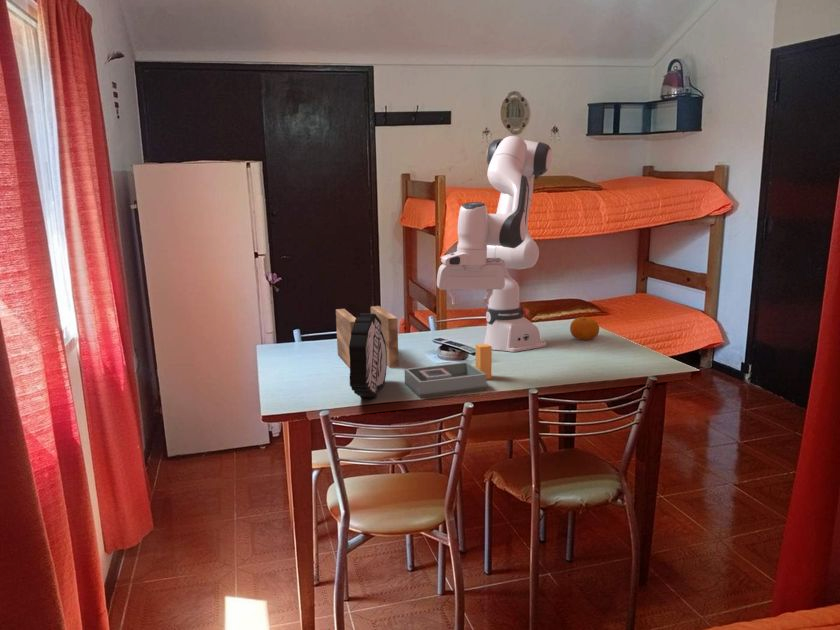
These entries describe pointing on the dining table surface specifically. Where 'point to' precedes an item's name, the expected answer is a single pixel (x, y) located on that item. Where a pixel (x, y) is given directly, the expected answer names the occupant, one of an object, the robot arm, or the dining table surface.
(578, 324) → the fruit
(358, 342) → the wall sign
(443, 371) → the socket
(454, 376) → the bin
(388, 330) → the bookends
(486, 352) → the orange rectangular block
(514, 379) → the dining table surface
